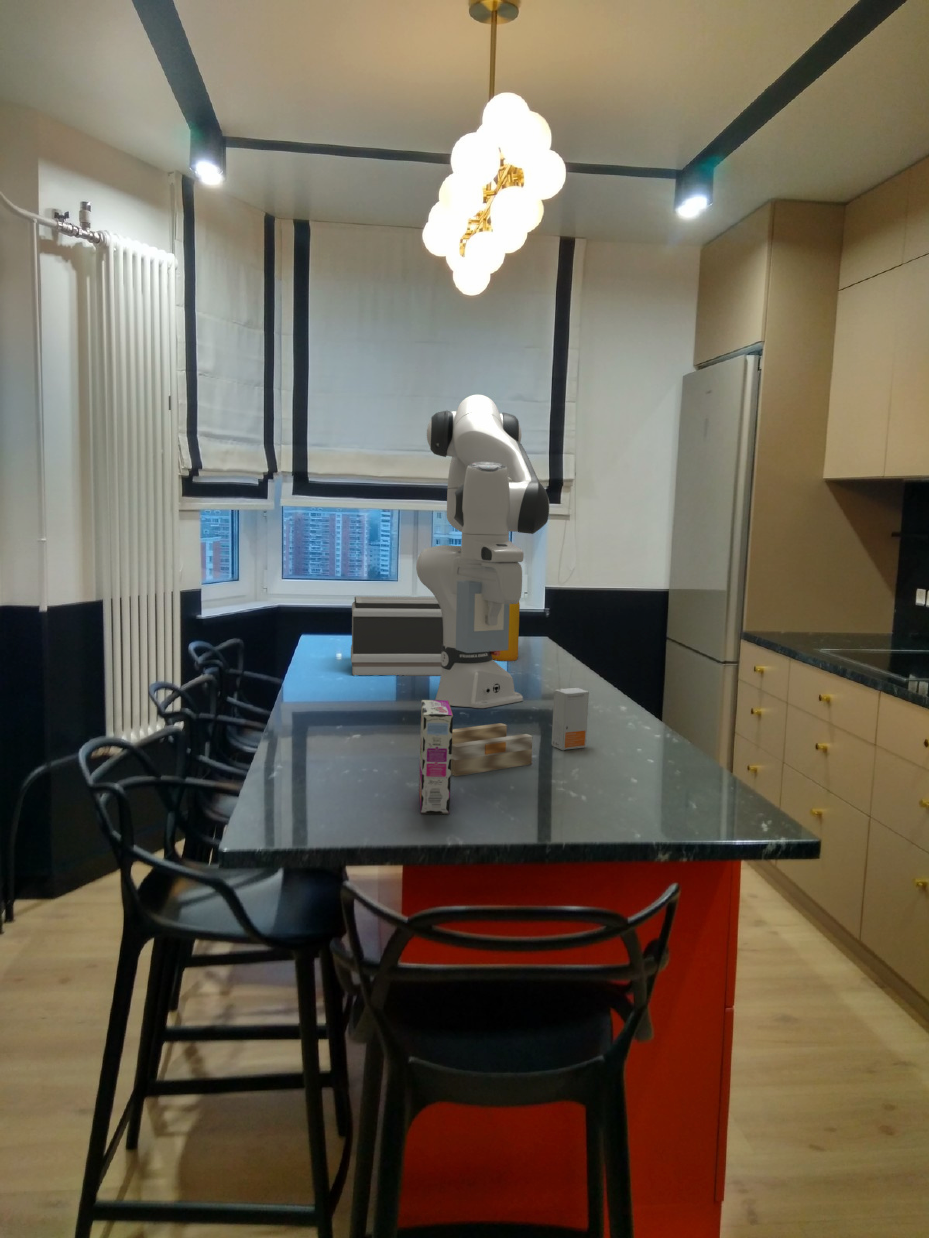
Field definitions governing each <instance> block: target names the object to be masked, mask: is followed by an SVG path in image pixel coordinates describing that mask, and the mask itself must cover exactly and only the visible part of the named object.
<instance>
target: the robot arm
mask: <svg viewBox="0 0 929 1238" xmlns="http://www.w3.org/2000/svg"><path fill="white" fill-rule="evenodd" d="M426 440H427V443H428V446H429V449H430V450H429V451H431V452H432V453H433V455H437V456H439V457H443V458H446V457H451V459H450V464H449V470H448V477H447V489H446V491H447V494H446V495H447V497H446V519H447V522H448V523H449V525H450V526H451V527H452V528H454V529H456V530H457V531H459V532H461V545H446V544H445V545H444V544H443V545H437V546H429V547H425V548H424V549H423V550H422V551H421V552H420V554H419V555H418V557H417V560H416V567H415V568H416V574H417V576H418V577H417V578H418V579H419V581H420V582H421V583H422V585H423V586H425V587H426V589H428V590H429V591H430V592H431V593H432V594H433V596H434V597H436V599H437V601H438V603H439V605H440V608H441V612H442V618H443V644H442V646H441V667H442V670H441V676H440V677H439V678H440V679H439V684H438V689H437V692H436V695H435V699H434V700H446V701H449V704H450V706H452V707H453V706H454V707H466V708H474V709H485V708H492V707H497V706H502V705H507V704H512V703H513V704H514V703H519V702H523V701H524V697H523V695H522V694H521V693H520V692H517V691H515V684H514V678H513V677H512V675H511V674H510V673H509V672H508V671H507V670H506V669H505V668H503V667H502V666H500V665H499V664H498V663H497V662H496V660H492V659H493V658H492V655H495V656H499V654H501V653H500V651H488V652H475V653H466V652H462V651H459V650H456V609H457V581H474V582H480V583H482V586H481V594H482V600H486V601H488V607H490V609H489V612H488V615H485V623H486V624H487V625H490V626H493V625H497V616H498V614H499V612H500V610H501V608H502V604H517V603H518V602H519V603H520V600H521V598H522V593H523V592H522V590H523V568H522V565H521V564H520V563H522V562H523V561H524V557H525V556H524V551H523V550H522V549H521V548H519V547H518V546H517V545H515V544H514V543H513V542H512V541H511V540H510V539H509V538H510V536H509V535H510V532H516V533H521V534H522V533H523V534H529V535H530V534H531V535H533V534H535V533H537V532H538V531H539V530H541V529H542V528H543V527H544V526H545V525H546V524H547V523H548V520H549V515H550V500H549V496H548V493H547V491H546V488H545V487H544V486H543V484H541V482H540V481H539V477H538V476H537V474H536V471H535V469H534V467H533V465H532V462H531V460H530V458H529V456H528V454H527V451H526V450H525V448H524V446H523V444H522V443H521V441H522V428H521V425H520V421H519V419H518V417H516V415H514V414H510V413H507V412H502V413H500V410H499V409H498V406H497V405H496V403H495V402H494V401H493V399H491V398H490V397H488V396H486V395H484V394H473V395H469V396H467V397H466V398H464V399H463V400H462V401H461V402H460V403H459V405H458V407H457V410H455V411H453V410H452V411H451V410H447V409H446V410H441V411H438V412H436V413H435V414H433V415H432V416H431V419H430V421H429V423H428V425H427V429H426ZM509 479H511V480H512V481H511V482H510V480H509Z"/></svg>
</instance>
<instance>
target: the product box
mask: <svg viewBox="0 0 929 1238" xmlns="http://www.w3.org/2000/svg"><path fill="white" fill-rule="evenodd" d="M481 586H482V583H480V582H474V581H457V609H456V650H459V651H462V652H466V653H475V652H488V651H502V650H508V636H509V604H502V608H501V610H500V612H499V614H498V616H497V625H493V626H490V625H487V624H486V623H485V615H488V612H489V609H490V607H488V601H486V600H482V594H481Z"/></svg>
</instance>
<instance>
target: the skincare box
mask: <svg viewBox="0 0 929 1238" xmlns="http://www.w3.org/2000/svg"><path fill="white" fill-rule="evenodd" d="M553 694H554V695H553V707H552V708H553V710H552V713H553V714H552V731H551V746H552V747H555V748H556V749H559V750H561V751H565V750H576V749H585V748H586V746H587V732H588V731H587V730H588V729H587V727H588V713H589V712H588V710H589V696H590V692H589V691H588V690H585V689H582V688H580V687H574V688H571V687H570V688H568V687H567V688H561V689H554V693H553Z"/></svg>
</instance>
